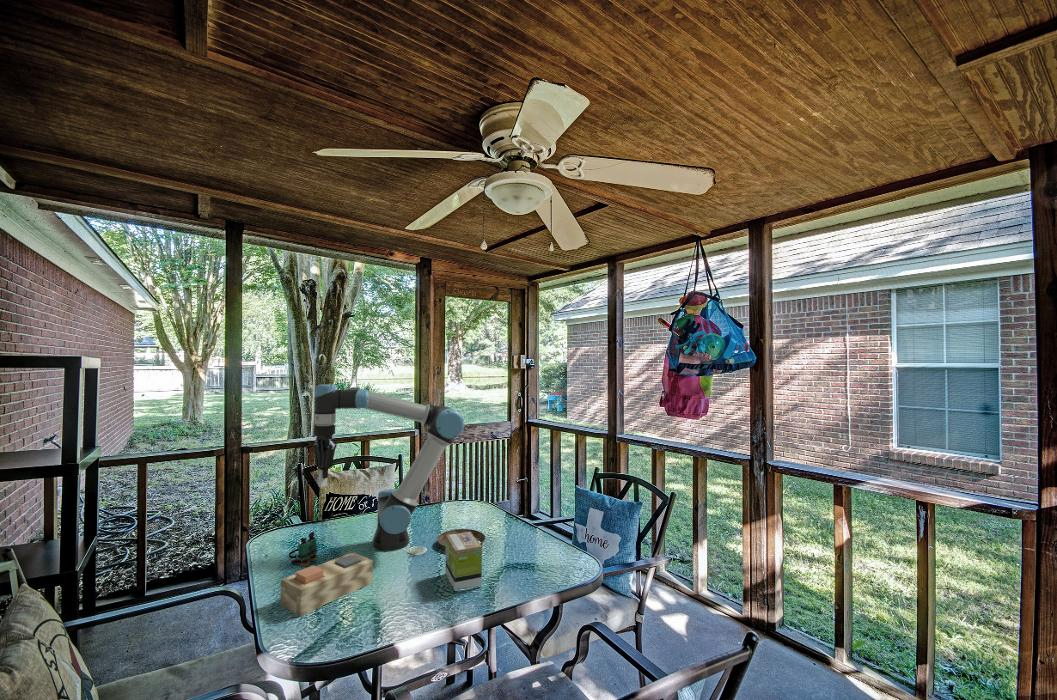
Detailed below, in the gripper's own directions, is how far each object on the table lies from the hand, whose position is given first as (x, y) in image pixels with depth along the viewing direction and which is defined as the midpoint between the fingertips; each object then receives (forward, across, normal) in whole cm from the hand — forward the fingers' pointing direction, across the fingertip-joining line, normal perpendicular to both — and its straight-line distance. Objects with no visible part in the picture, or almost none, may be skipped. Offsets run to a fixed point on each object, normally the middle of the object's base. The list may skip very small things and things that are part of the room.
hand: (322, 486), depth 173 cm
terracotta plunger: (+28, +21, -17) cm, 39 cm away
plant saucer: (+31, +29, +47) cm, 64 cm away
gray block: (+30, +21, -3) cm, 37 cm away
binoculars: (+31, -9, -2) cm, 32 cm away
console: (+30, +21, -10) cm, 38 cm away
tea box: (+31, +52, +23) cm, 64 cm away
